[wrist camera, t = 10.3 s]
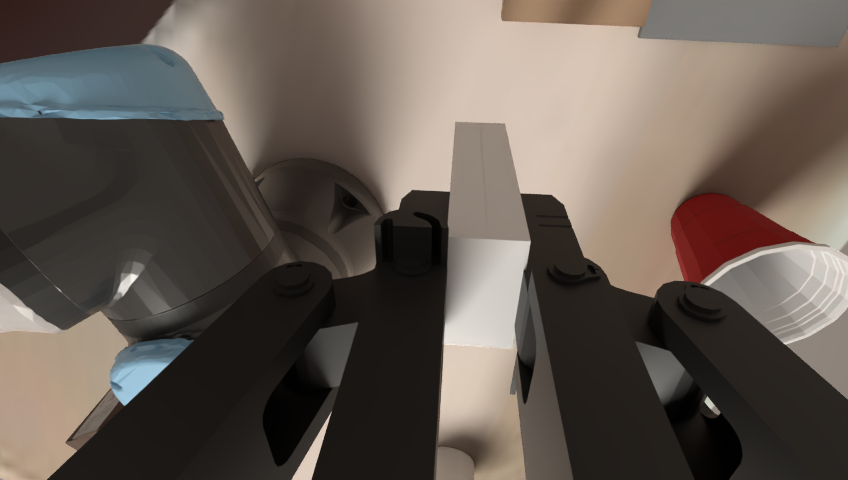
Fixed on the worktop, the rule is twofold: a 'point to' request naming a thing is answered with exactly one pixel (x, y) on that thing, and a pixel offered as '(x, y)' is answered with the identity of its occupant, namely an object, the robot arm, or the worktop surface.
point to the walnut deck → (578, 11)
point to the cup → (454, 465)
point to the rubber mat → (749, 21)
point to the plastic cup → (760, 265)
